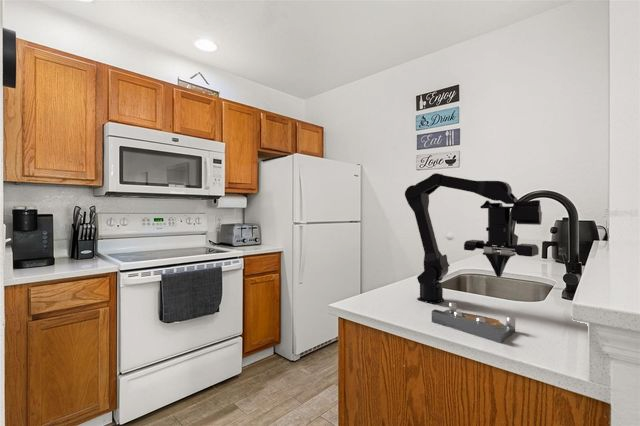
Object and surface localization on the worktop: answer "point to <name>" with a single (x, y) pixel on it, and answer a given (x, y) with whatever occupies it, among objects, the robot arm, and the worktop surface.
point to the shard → (487, 320)
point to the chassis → (473, 324)
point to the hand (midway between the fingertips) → (499, 276)
